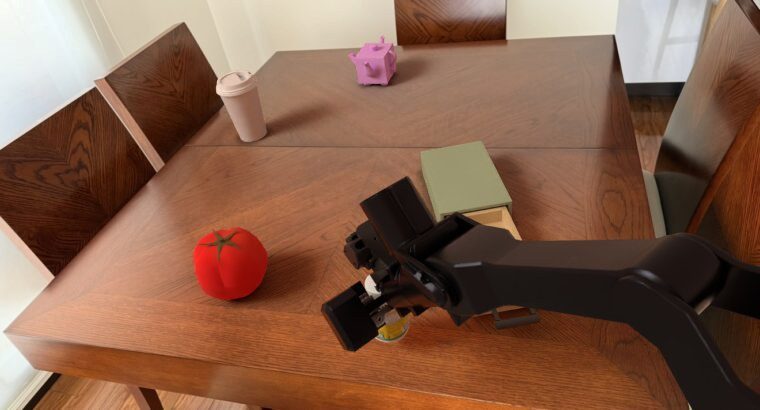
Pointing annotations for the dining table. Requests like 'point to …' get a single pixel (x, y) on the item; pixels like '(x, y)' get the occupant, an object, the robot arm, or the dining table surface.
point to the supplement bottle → (388, 319)
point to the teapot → (375, 62)
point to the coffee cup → (243, 103)
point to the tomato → (230, 263)
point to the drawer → (504, 220)
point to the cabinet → (463, 180)
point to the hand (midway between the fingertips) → (377, 291)
